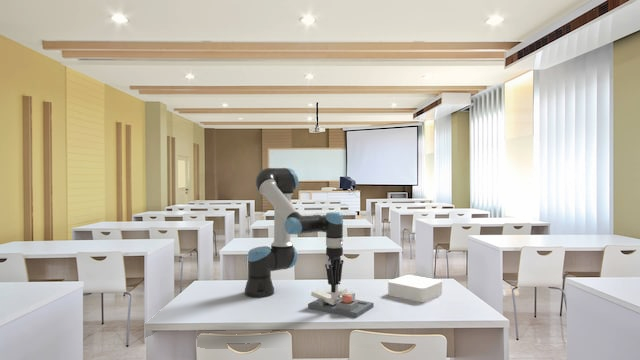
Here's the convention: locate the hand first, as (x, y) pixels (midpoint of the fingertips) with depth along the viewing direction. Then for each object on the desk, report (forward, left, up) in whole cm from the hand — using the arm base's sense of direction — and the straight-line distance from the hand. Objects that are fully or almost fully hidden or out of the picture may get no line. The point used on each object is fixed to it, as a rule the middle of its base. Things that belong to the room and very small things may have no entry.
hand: (334, 298), depth 192 cm
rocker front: (-5, 0, 0) cm, 5 cm away
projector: (+22, +43, -5) cm, 49 cm away
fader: (+4, +9, -2) cm, 10 cm away
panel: (+1, +4, -5) cm, 6 cm away
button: (+6, 0, -1) cm, 6 cm away
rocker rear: (-5, +8, 0) cm, 9 cm away
